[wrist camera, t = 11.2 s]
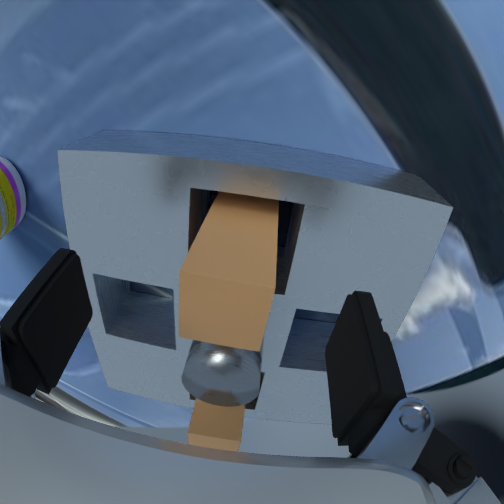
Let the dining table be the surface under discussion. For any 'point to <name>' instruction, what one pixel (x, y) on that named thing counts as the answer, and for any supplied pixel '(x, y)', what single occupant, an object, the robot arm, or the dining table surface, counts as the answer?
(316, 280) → the grey peg hole board
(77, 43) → the dining table surface
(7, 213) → the supplement bottle
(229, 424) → the tall tan wooden post
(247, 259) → the tan square prism
